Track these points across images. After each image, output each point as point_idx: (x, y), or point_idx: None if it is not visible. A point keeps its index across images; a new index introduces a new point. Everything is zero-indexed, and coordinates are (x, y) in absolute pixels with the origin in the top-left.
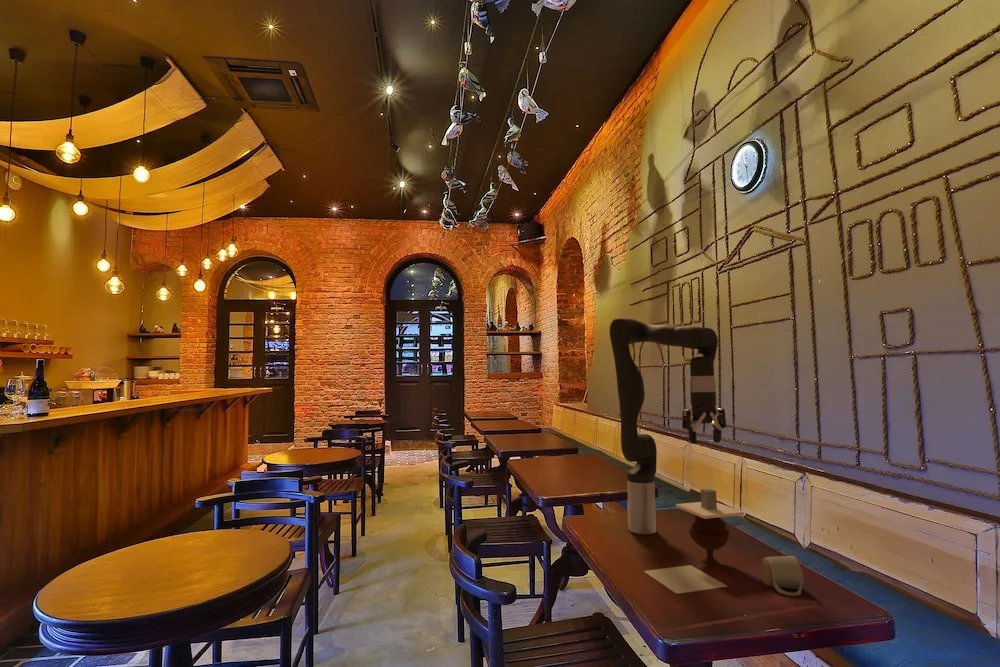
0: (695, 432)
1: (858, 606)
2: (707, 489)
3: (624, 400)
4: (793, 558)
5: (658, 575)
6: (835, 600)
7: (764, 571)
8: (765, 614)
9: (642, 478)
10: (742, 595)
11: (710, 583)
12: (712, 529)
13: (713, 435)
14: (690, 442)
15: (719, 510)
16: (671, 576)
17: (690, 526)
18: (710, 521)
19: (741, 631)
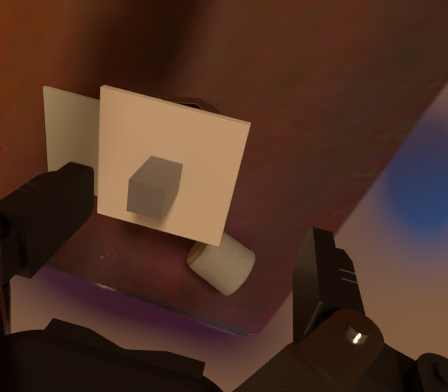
0: (28, 270)
1: (253, 317)
2: (152, 191)
3: None
4: (227, 291)
5: (59, 117)
6: (246, 298)
7: (199, 243)
8: (127, 269)
9: None
10: (144, 228)
11: None
12: None
13: (313, 261)
14: (72, 164)
15: (171, 205)
16: (79, 134)
17: (163, 98)
18: None
19: (70, 272)
